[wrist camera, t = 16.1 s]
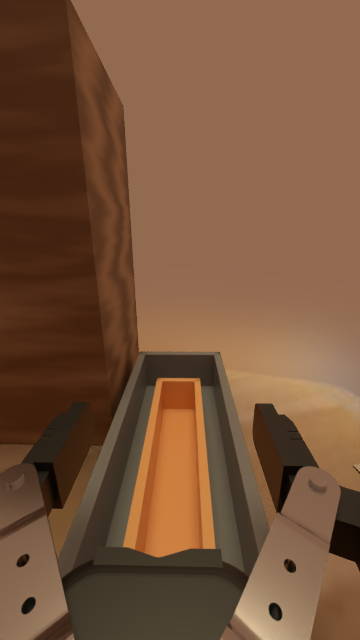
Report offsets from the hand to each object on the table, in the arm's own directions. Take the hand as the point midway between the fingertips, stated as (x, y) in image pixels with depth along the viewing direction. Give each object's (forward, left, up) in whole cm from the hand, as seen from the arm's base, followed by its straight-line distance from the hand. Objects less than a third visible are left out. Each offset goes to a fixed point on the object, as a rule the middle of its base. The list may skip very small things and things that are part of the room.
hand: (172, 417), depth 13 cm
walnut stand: (0, +21, -10) cm, 23 cm away
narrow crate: (+3, +3, -10) cm, 11 cm away
